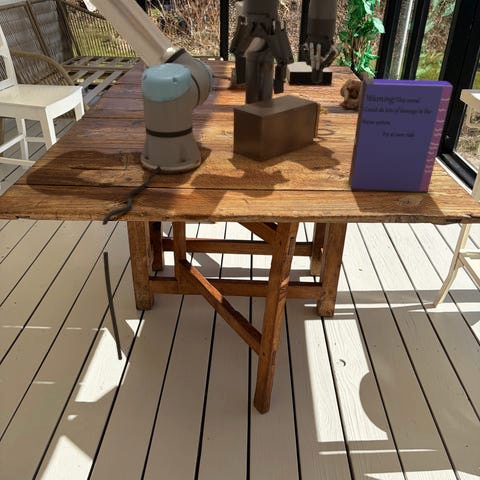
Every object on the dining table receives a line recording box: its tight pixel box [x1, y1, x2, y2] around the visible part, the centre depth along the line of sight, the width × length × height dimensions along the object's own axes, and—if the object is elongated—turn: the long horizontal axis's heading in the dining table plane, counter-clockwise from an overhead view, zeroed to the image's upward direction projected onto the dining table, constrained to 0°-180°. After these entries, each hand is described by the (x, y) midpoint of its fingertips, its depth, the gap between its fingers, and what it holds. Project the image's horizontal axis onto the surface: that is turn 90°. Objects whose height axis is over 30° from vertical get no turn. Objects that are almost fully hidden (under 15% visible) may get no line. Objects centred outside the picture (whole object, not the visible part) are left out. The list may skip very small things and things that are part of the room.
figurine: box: [211, 66, 287, 89], centre depth 190 cm, size 24×8×30 cm
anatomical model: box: [339, 71, 369, 110], centre depth 171 cm, size 13×9×15 cm
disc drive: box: [286, 61, 333, 85], centre depth 207 cm, size 18×22×5 cm
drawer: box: [313, 102, 330, 140], centre depth 135 cm, size 26×9×10 cm, turn 133°
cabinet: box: [232, 94, 318, 163], centre depth 131 cm, size 22×11×12 cm, turn 133°
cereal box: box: [348, 78, 454, 193], centre depth 106 cm, size 17×5×24 cm, turn 86°
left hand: (259, 88), depth 121 cm, fingers open, 13 cm apart
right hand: (316, 82), depth 136 cm, fingers closed
